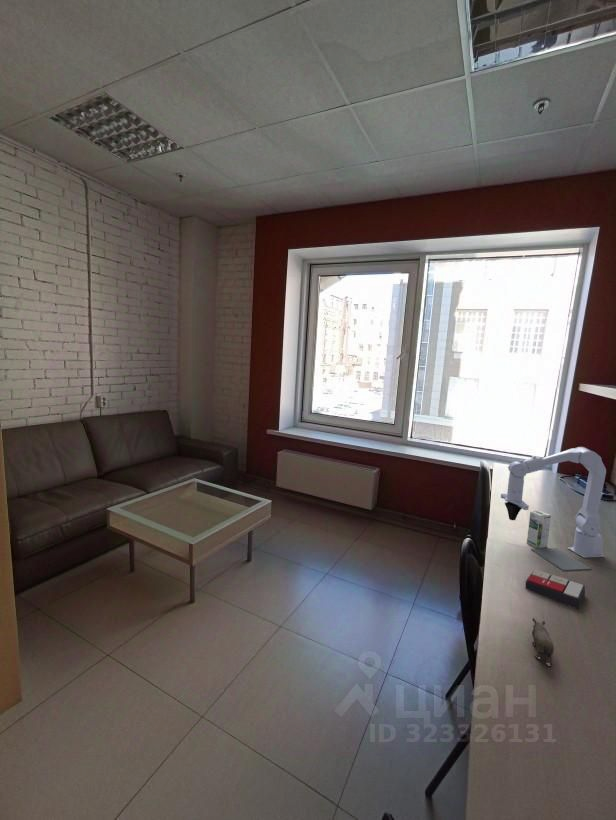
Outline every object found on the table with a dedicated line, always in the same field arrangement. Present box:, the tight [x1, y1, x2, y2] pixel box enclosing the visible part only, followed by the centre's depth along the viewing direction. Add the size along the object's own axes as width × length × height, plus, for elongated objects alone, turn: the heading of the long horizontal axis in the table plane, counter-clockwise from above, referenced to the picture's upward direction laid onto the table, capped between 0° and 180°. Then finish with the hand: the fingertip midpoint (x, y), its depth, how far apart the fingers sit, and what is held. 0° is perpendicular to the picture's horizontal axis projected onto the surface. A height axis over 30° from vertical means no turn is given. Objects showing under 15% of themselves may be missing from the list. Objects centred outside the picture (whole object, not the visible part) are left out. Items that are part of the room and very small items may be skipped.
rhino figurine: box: [531, 617, 555, 663], centre depth 97 cm, size 4×14×6 cm, turn 157°
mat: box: [531, 547, 592, 572], centre depth 145 cm, size 12×16×1 cm
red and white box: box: [525, 569, 586, 610], centre depth 123 cm, size 11×4×15 cm
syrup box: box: [526, 509, 552, 549], centre depth 156 cm, size 6×6×14 cm
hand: (512, 519), depth 159 cm, fingers closed
